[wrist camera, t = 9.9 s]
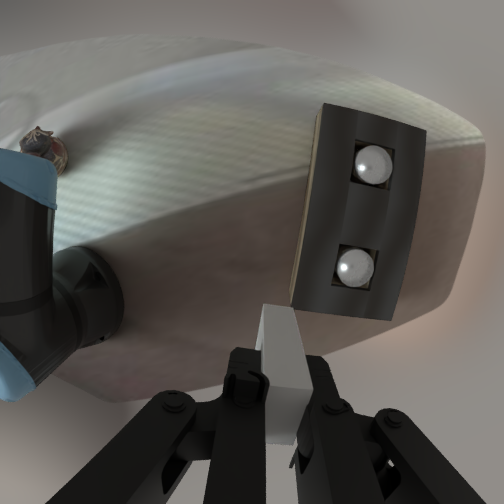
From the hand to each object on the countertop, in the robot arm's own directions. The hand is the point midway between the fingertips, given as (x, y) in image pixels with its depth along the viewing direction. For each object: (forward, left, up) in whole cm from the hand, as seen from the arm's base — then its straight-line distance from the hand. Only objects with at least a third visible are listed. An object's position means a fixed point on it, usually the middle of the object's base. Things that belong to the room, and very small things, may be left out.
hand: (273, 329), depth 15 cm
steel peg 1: (+9, +11, -22) cm, 26 cm away
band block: (+9, +6, -22) cm, 25 cm away
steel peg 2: (+9, 0, -22) cm, 24 cm away
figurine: (-35, +8, -21) cm, 42 cm away
